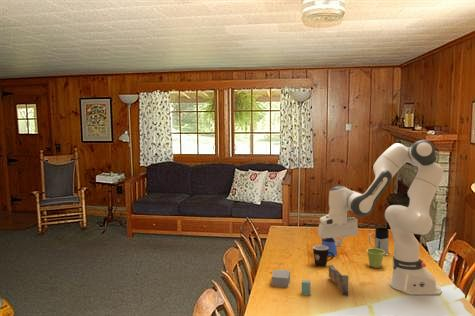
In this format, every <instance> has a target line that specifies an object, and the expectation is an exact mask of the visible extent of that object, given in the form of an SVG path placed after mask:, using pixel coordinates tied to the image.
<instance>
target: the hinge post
mask: <svg viewBox="0 0 475 316" xmlns="http://www.w3.org/2000/svg"><path fill="white" fill-rule="evenodd" d="M342 275H343V292H342V296H345V297H347V296H349V275H346V274H342Z"/></svg>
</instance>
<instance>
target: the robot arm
mask: <svg viewBox="0 0 475 316" xmlns="http://www.w3.org/2000/svg"><path fill="white" fill-rule="evenodd" d="M436 161H437V154H436V148H435V145H434V144H433V143H432V142H431V141H429V140H427V139H421V140H417V141H415V142H414V143H413V144H412V145H411V146H409V147H408V146H406V145H404V144H402V143H398V142H397V143H393V144H392V145H391V146H389V147H388V148H387V149H386V150H385V151H383V153H382V154H381V155H379V156H378V158H377V159H376V161H375V162H374V164H373V165H372V167H373V168H372V169H373V173H374V180H373V181H372V183H371V184H370V186H369V187H368V188H367V189H366V190H365V192H364V193H360V192H358V191H354V190H351V189H350V188H347V187H346V186H343V185H337V186H333V187H331V188H330V190H329V193H328V206H329V211H328V213H327V214H328V215H327V214H326V215H323V216H322V217H319V222H320V223H318V228H317V229H318V232H317V234H318V237H320V239H321V240H322V239H323V238H333V239H334V241H335V245H336V246H337V247H338V246H342V245H343V241H344V239H345V237H353V236H358V234H359V228H358V222H359V220H358V218H356V217H355V216H353V217H348V211H351V212H353V213H354V215H356V216H358V217H361V218H363V217H367V216H369V215H370V214H371V213H372V212H373V210H374V208H375V205H376V202H377V201H378V200H379V198H380V197H381V195H382V194H383V193H384V192H385V190H386V189H387V188H388V186H389V185H390V183H391V181H392V179H393V177H394V176H395V175H396V173H397V172H399V170H400V169H401V168H402V167H403V166H404V165H408V166H411V167H413V168H416V169H417V168H418V169H417V173H416V175H415V177H414V179H413V181H412V182H411V184H410V186H409V189H407V197H408V198H409V203H408V206H404V205H401V204H392V205H389V206H388V207H387V208H386V209H385V211H384V219H385V221H386V222H387V223H388V225H389V228H390V231H391V234H392V239H393V256H392V275H391V277H390V278H391V279H390V282H389V285H390V287H391V288H393V289H395V290H396V291H400V292H403V293H404V294H407V295H413V296H414V295H420V296H421V295H422V296H425V295H426V296H427V295H428V296H429V295H437V296H438V295H441V294H442V288H441V286H440V285H439V284H437V283H436V278H435V276H434V275H433V274H432V273H431V272H430V271H429V270H428V269H426V267H427V264H426V262H425V261H423V259H421V258H420V243H419V241H418V239H417V238H416V237H415V235H427V234H428V233H429V232H430V231H431V230H432V228H433V219H432V218H431V215H430V210H431V209H430V208H431V203H432V201H433V199H434V196H435V195H436V193H437V191H438V188H439V187H440V185H441V181H442V179H443V175H444V168H443V167H442V166H441V165H440V164H439V163H437V162H436ZM338 238H339V239H338ZM336 239H337V240H336Z"/></svg>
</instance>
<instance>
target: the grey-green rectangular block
mask: <svg viewBox="0 0 475 316" xmlns="http://www.w3.org/2000/svg"><path fill="white" fill-rule="evenodd" d="M311 289H312V288H311V280H301V296H311Z"/></svg>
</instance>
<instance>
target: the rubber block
mask: <svg viewBox="0 0 475 316" xmlns="http://www.w3.org/2000/svg"><path fill="white" fill-rule="evenodd" d="M290 281H291V270H288V269H287V270H286V269H274V270H273V273H272V275H271V287H274V286H277V288H285V287H288V288H289V286H290ZM288 285H289V286H288Z"/></svg>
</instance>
